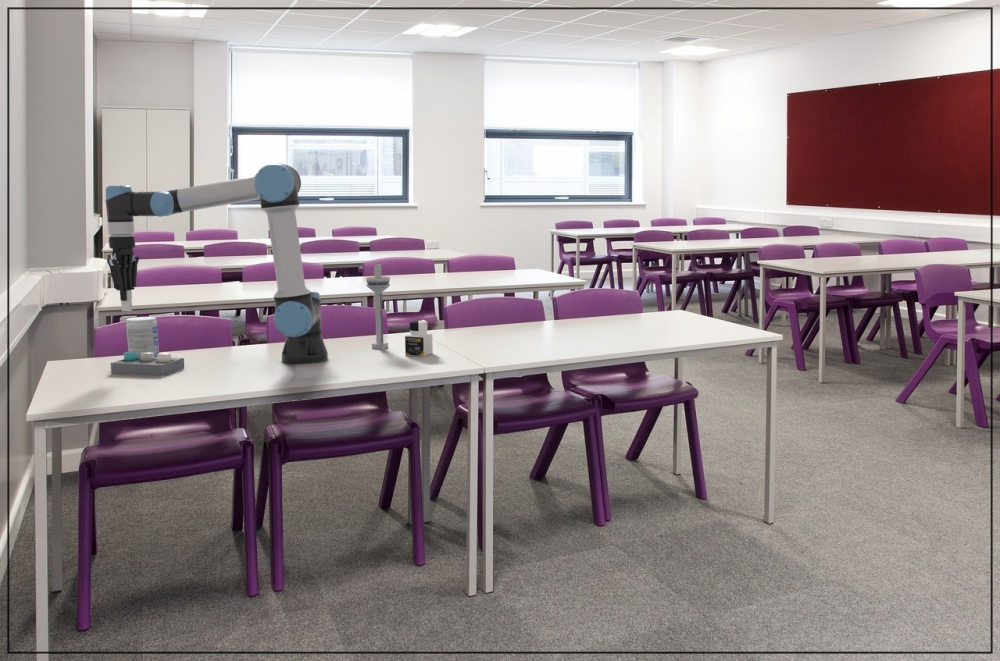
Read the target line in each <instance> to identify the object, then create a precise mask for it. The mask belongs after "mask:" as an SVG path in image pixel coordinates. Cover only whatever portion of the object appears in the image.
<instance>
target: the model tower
mask: <svg viewBox="0 0 1000 661" xmlns="http://www.w3.org/2000/svg"><path fill="white" fill-rule="evenodd" d="M373 271H374V272H373V273H374V274H373V275H374V276H367V277H366V279H365V281H366V287H367V288H369V289H370V291H372V292H373V293H374V303H375V304H374V306H375V307H374V309H375V311H374V312H375V340H376V342H374V343H371V349H372V348H374V349H373V350H375V349H376V350H383V349H387V347H388V348H389V342H384V321H383V320H384V319H383V314H384V313H383V292H384V291H385V290H387V289H388V288H389V287H391V284H390V280H391V279H390V277H389V276H382V264H373Z"/></svg>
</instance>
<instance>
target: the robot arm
mask: <svg viewBox="0 0 1000 661" xmlns="http://www.w3.org/2000/svg"><path fill="white" fill-rule="evenodd" d="M301 186H302V180H301V176H300V174H299V173H298V171H297V170H296V169H295V168H294V167H292V166H290V165H287V164H283V163H279V162H271V163H268V164H265V165H264V166H262V167H261V168H260V169H259V170H258V171H257V172H256V174H255V175H252V176H247V177H241V178H235V179H229V180H223V181H218V182H212V183H207V184H201V185H195V186H189V187H183V188H176V189H171V190H166V191H161V190H160V191H159V190H158V191H133V190H132V187H131V186H130V185H108V186H106V188H105V205H106V206H105V208H106V218H107V232H108V233H107V234H108V236H109V237H108V246H109V249H112V253H111V258H109V259H107V260H106V263H107V264H108V267H109V269H110V274H111V279H112V283H113V287H114V289H115V290H116V291H119V297H120V306H121V312H132V311H133V302H132V301H133V300H132V299H133V295H132V294H133V293H132V290H135V288H136V286H137V275H138V263H139V261H140V257H139V256H137V255H135V254H134V249H135V248H136V237H135V236H134V234H136V232H135V220H134V217H170V216H172V215H175V214H181V213H185V212H186V213H187V212H192V211H198V210H203V209H208V208H215V207H220V206H227V205H234V204H238V203H244V202H252V201H255V200H256V201H257V200H260V203H259V204H260V208H261V211H263V212H264V213H265V214H266V216H267V222H268V229H269V237H270V238H269V239H270V243H271V250H272V258H273V265H274V272H275V281H276V285H277V291H276V292H275V294H274V295H273V301H274V308H275V310H274V314H273V322H274V326H275V328H276V330H277V331H278V332H280V333H281V334H282V335H284V336H285V337H286V338H285V342H284V344H283V348H282V351H281V362H283V363H285V364H286V363H287V364H294V365H295V364H299V365H301V364H313V363H314V364H315V363H316V364H317V363H320V362H325V361H327V360H328V359H329V355H328V354H329V353H328V349H327V347H326V344H325V342H324V339H323V336H322V310H321V303H322V299H321V295H320V293H319V292H318V291H311V290H310V289H308V288H307V287H306V282H305V275H304V267H303V260H302V252H301V245H300V244H301V243H300V239H299V238H300V237H299V231H298V230H299V229H298V222H297V214H296V211H297V209H298V208H299V207H300V200H299V192H300V191H301Z"/></svg>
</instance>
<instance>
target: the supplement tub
mask: <svg viewBox="0 0 1000 661" xmlns="http://www.w3.org/2000/svg"><path fill="white" fill-rule="evenodd" d="M157 323H158V322H157V318H156V316H155V317H154V316H138V317H137V316H136V317H128V318H126V327H125V328H126V337H127V338H126V339H127V349H128V350H127V352H137V356H140V354H141V353H145V352H153V353H154V357H157V354H159V353H160V347H159V346H160V345H159V334H158V324H157Z"/></svg>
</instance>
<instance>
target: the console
mask: <svg viewBox="0 0 1000 661" xmlns="http://www.w3.org/2000/svg"><path fill="white" fill-rule="evenodd" d="M184 368H185V358H184V357H174V356H173V357H172V356H171V362H168V363H158V357H154V361H152V362H141V356H138V360H136V361H133V362H132V361H124V358H123V359H120V360H117V361H116V360H115V361H113V362H110V371H111V372H110V373H111V375H122V376H123V375H126V376H127V375H128V376H129V375H130V376H147V377H148V376H149V377H150V376H152V377H165V376H168V375H170V374H173V373H176V372H179V371H181V370H182V371H183V370H185V369H184Z"/></svg>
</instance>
